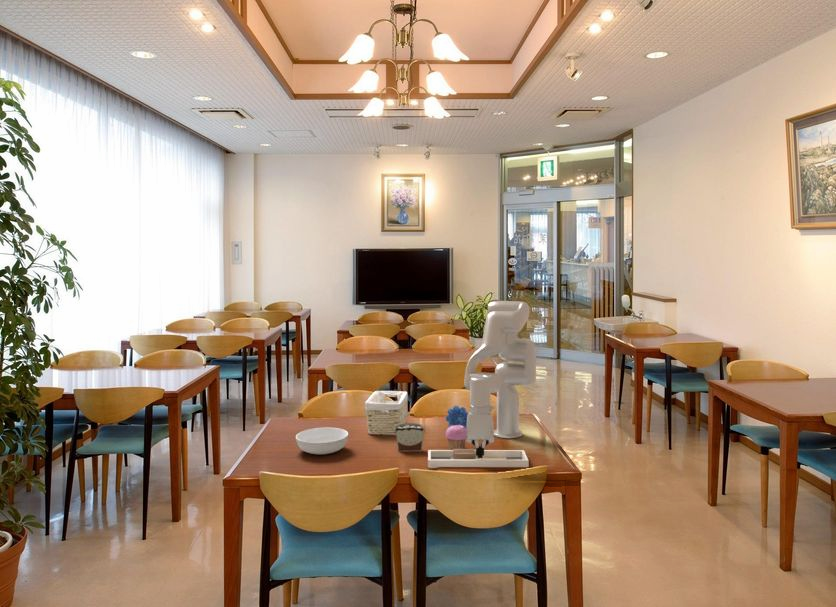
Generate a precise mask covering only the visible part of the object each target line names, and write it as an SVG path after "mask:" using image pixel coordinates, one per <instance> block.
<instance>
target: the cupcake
mask: <svg viewBox="0 0 836 607" xmlns="http://www.w3.org/2000/svg"><path fill="white" fill-rule="evenodd" d="M466 437H467V435H466V428H465V427H464V426H461V425H454V426H451V427H449V426H448V428H447V429H446V431H445V438H446V439H447V442H448V446H449V448H450V450H453V449H466V448H465V446H466Z"/></svg>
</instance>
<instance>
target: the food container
mask: <svg viewBox="0 0 836 607" xmlns="http://www.w3.org/2000/svg"><path fill="white" fill-rule="evenodd" d="M395 431H396V435H395V436H396V443H397V444H396V445H397V451H398V452H422V451H423V442H424V441H423V440H424V432H426V429H425V426H424V425H423V424H422V423H421V424H420V423H416V422H406V423H403V424H399V425H397V426H396V428H395Z"/></svg>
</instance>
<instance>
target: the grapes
mask: <svg viewBox="0 0 836 607" xmlns="http://www.w3.org/2000/svg"><path fill="white" fill-rule="evenodd" d="M468 412H469V411H468ZM468 412H467V409H466V407H464V406H461V407H459V406H458V405H454V406H453V407H452V408H449V409H448V410H447V415H446V416H445V420H446V421H447V422H448V428H449V427H451V426H454V425H461V426H464V427H465V428H466V427H467V416H468Z"/></svg>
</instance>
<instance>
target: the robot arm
mask: <svg viewBox="0 0 836 607" xmlns="http://www.w3.org/2000/svg"><path fill="white" fill-rule="evenodd" d="M485 317H486V318H485V323H484V328H483V333H482V334H483V335H482V340H481V346H480V347H479V348H478V349H477V350H475V351H474V352H473V354H472V355H471V356H470V358H469V359H468V361H467V363H466V368H465V372H464V377H463V378H464V380H463V382H464V387H465V389H466V390H468V392H469V394H470V396H469V405H470V406H469V411H468V416H467V427H466V435H467V437H466V439H465V443H469V444H472V445H473V446H474V447H475V450H476V456H478V458H482V456H484V450H485V448H486V446H487V445H489V444H492V443H495V438H494V436H495V437H497V438H502V439H517V438H520V437H522V436H523V431H522V430H520V394H519V392H518V389H517V388H516V386H521V387H532V386H533V385H535V383H536V379H537V350H536V345H535V342H534V341H533V340H532V339H529V338H519V337H518V334H519V333H520V332H521V331H522V330H523V328H524V326H525V325H526V323H527V322H528V319H529V317H530V306H529V304H528V303H527V302H525V301H519V300H518V301H517V300H515V301H513V300H511V301H510V300H493V301H490V302H489V303H488V305H487V314H486V316H485ZM496 355H498V357H499V358H500V359H501V360H505V362H500V363H498V364H497V365H496V366H495V368H494V373H493V372H485V371H484V372H481V371H476V368H477V366H478V365H479V364H480V363H481V362H482V361H484V360H485V359H488V358H491V357H493V356H496ZM506 361H507V362H506ZM509 361H513V362H509ZM514 361H515V362H514ZM516 361H517V362H516ZM520 362H522V363H520ZM491 394H496V429H494V419H493V418H494V417H493V412H492V411H494V410H495V406H493V405H491ZM479 441H481V444H479Z"/></svg>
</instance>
